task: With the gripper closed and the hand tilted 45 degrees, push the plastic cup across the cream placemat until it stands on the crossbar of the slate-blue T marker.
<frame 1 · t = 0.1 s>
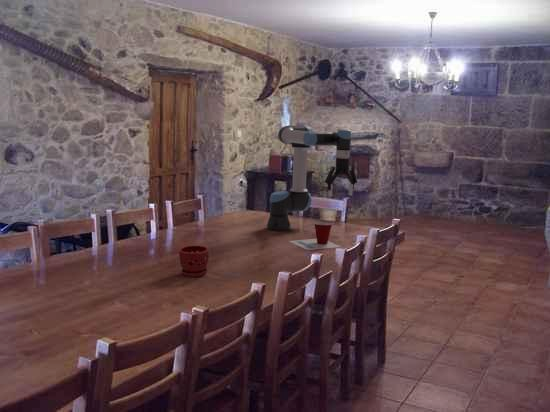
hand: (340, 195, 321), 28 cm above the table, tool pointing down, fingers open, 13 cm apart
plant pot: (193, 274, 259), on the table
plastic cup: (322, 243, 326), resting on placemat
placemat: (314, 244, 324), on the table
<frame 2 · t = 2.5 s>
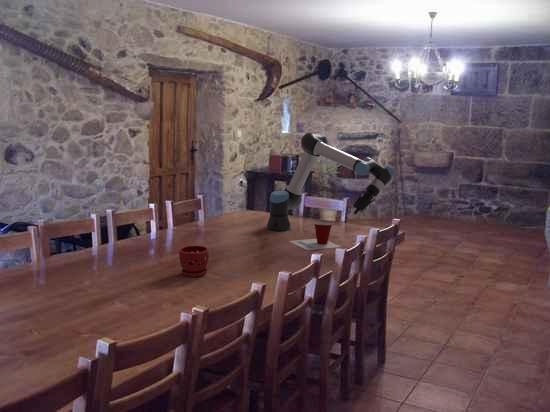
hand: (349, 217, 332), 14 cm above the table, tool tilted 45°, fingers closed
nothing on the table moved.
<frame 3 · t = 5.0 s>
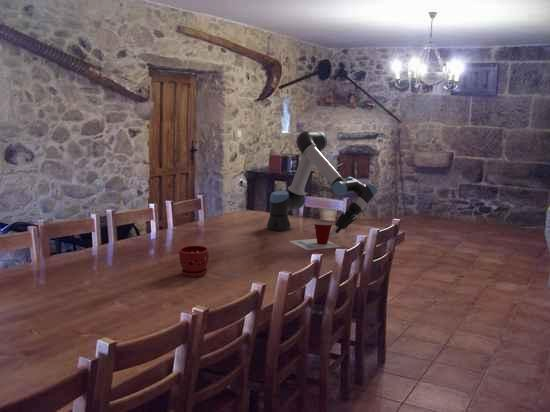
hand: (331, 236, 328), 4 cm above the table, tool tilted 45°, fingers closed
plastic cup: (322, 243, 326), resting on placemat, touching gripper
everything else where it was.
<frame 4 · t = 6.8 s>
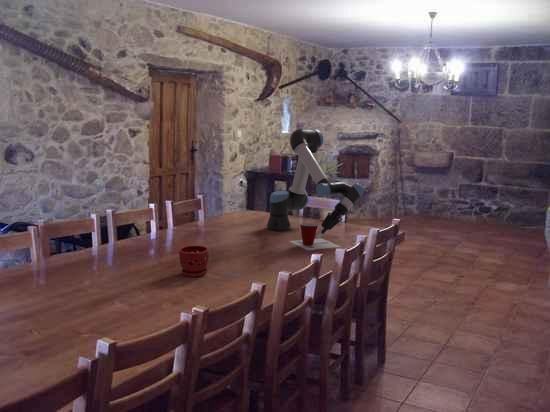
hand: (317, 237, 324), 4 cm above the table, tool tilted 45°, fingers closed
plastic cup: (308, 244, 323), resting on placemat, touching gripper
everything else where it was.
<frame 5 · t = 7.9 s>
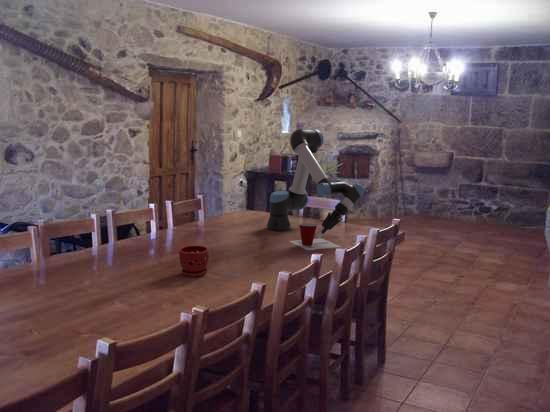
hand: (317, 236, 324), 4 cm above the table, tool tilted 45°, fingers closed
plastic cup: (307, 244, 322), resting on placemat
everything else where it was.
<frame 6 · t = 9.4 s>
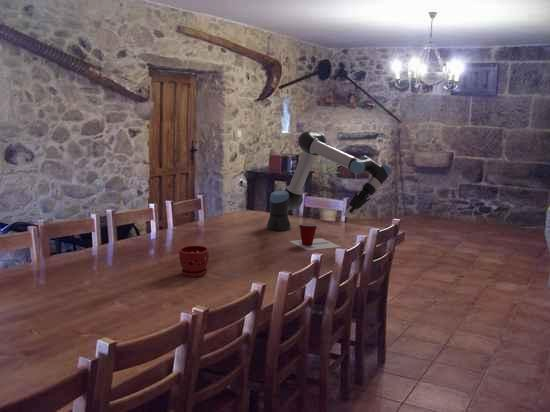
hand: (345, 215, 329), 15 cm above the table, tool tilted 45°, fingers closed
nothing on the table moved.
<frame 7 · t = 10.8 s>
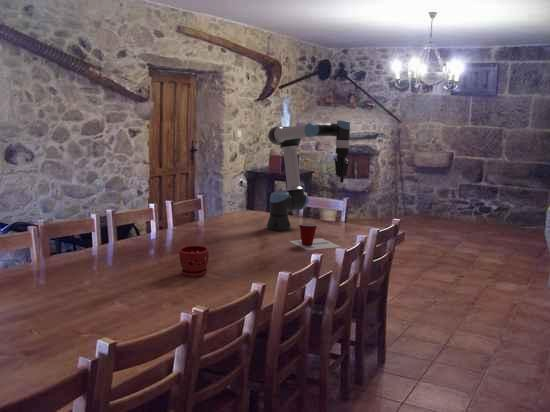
hand: (340, 187, 336), 30 cm above the table, tool pointing down, fingers closed
nothing on the table moved.
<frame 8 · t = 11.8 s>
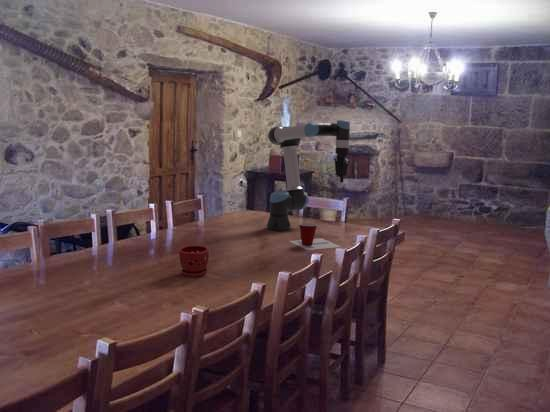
hand: (340, 187, 336), 30 cm above the table, tool pointing down, fingers closed
nothing on the table moved.
at the end: plastic cup inside the target area (0.4 cm from its centre), resting on placemat; plastic cup tilted 0°; plastic cup moved 9.7 cm from its start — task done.
